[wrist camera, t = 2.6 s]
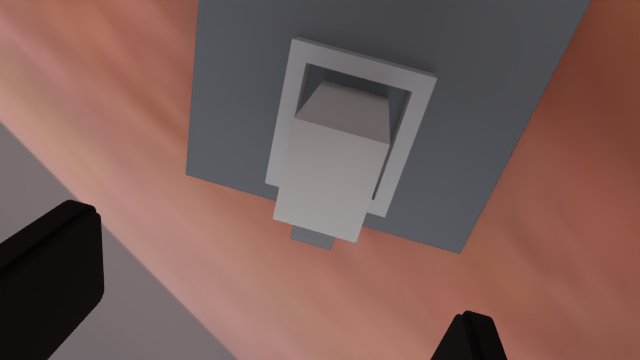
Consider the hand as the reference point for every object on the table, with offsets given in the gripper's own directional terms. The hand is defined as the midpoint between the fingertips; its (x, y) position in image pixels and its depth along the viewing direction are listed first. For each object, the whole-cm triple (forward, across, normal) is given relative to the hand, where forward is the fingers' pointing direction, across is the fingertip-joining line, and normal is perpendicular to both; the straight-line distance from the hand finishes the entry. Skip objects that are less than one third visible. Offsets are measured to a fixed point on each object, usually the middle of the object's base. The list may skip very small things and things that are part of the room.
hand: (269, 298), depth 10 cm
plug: (+15, -1, 0) cm, 15 cm away
